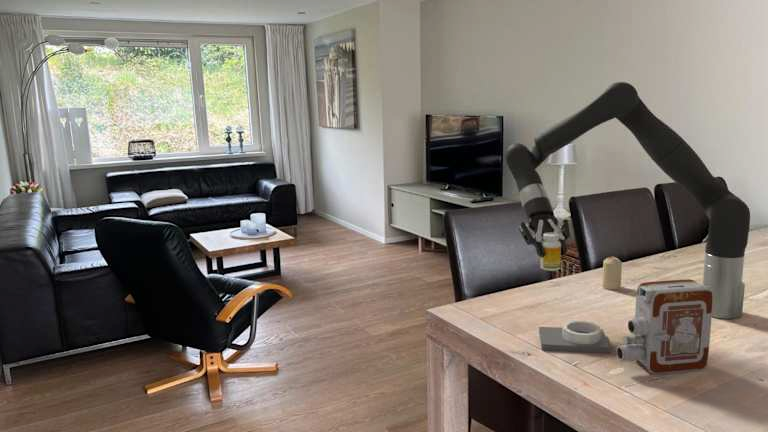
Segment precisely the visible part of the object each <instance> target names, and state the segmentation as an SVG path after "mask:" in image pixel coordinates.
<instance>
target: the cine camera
mask: <svg viewBox="0 0 768 432" xmlns="http://www.w3.org/2000/svg"><path fill="white" fill-rule="evenodd" d="M712 306H713V293H712V291H711V289H710V287H709V286H704V285H703V283H699V282H698V281H696V280H693V279H689V278H688V279H687V278H686V279H684V278H683V279H670V280H657V281H645V282H642V283H639V284H638V286H637V288H636V294H635V313H634V314H635V315H634V317H632V318H631V319H630V320H628V321H627V328H628V332H629V333H630V334H632V335H633V336H629V335H627V336H623V344H622V345H618V346H617V347H616V356H617V359H619V360H620V361H623V362H624V361H625V362H627V361H628V362H634V361H635V362H636V363H638V364H639V365H640V366H641V367H643V369H645V370H646V371H647V372H648V373H650V374H653V375H658V374H660V375H661V374H671V373H683V372H693V371H694V372H695V371H696V372H697V371H701V370H704V369H705V368H706V367H707V365H708V359H709V352H710V342H711V341H710V340H711V330H712V329H711V328H712V318H713V317H712Z"/></svg>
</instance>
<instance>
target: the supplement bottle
mask: <svg viewBox="0 0 768 432" xmlns="http://www.w3.org/2000/svg"><path fill="white" fill-rule="evenodd" d="M542 239H543V240H542V241H541V242H542V245H543V248H544V251H545V256H544V257H542V258H541V257H540V256H539V257H540V258H539V266H540V269H541V270H543V271H550V272H554V271H559V270H560V269H561V267H562V265H561V264H562V263H561V262H562V256H561V243H560V242H559V241H558V239H559V234H558V233H553V232H549V233H544V234H543V236H542Z"/></svg>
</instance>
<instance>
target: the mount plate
mask: <svg viewBox="0 0 768 432" xmlns="http://www.w3.org/2000/svg"><path fill="white" fill-rule="evenodd" d="M538 334H539V341H540V346H541V350H542V351H543V350H544V351H559V352H577V353H578V352H581V353H601V354H611V346H610V343H609V341H608V338H607V336H606V333H605V332H604V329H603V328H601V326H600V325H598V324H596V323H594V322H590V321H585V320H571V321H566V322H565V323H563V324H562V327H558V326H557V327H555V326H538Z"/></svg>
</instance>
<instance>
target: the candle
mask: <svg viewBox="0 0 768 432" xmlns="http://www.w3.org/2000/svg"><path fill="white" fill-rule="evenodd" d="M602 264H603V265H602V267H603V268H602V288H603V289H606V290H610V291H613V290H614V291H617V290H621V287H622V271H623V269H622V268H623V267H622V266H623V262H622V261H621V260H620V259H619V258H618V257H615V256H608V257H607V258H605V259H604V260H603V263H602Z"/></svg>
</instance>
